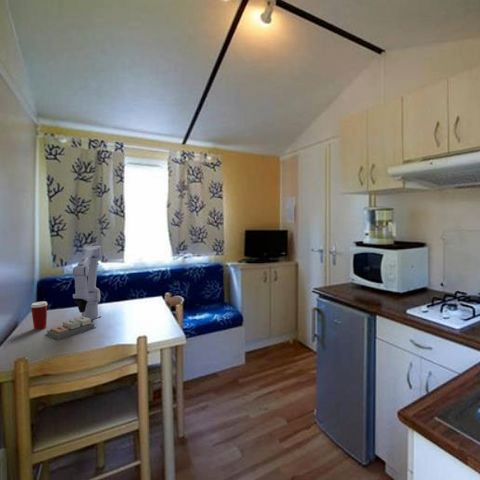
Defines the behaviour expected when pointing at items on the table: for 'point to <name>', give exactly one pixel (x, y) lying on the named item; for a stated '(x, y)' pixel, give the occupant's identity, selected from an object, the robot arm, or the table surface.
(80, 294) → the robot arm
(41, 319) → the paper cup
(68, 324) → the key two
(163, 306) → the table surface
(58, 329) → the key three
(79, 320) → the key one
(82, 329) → the keypad board
